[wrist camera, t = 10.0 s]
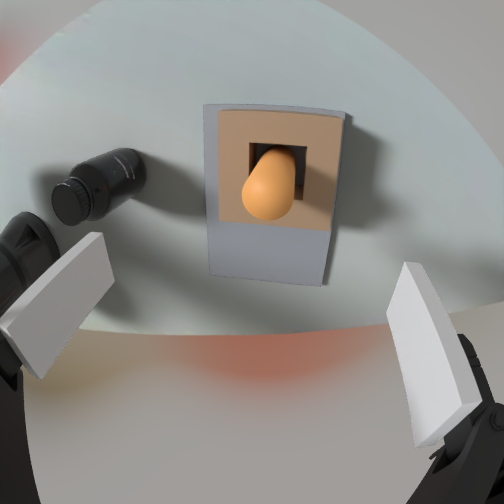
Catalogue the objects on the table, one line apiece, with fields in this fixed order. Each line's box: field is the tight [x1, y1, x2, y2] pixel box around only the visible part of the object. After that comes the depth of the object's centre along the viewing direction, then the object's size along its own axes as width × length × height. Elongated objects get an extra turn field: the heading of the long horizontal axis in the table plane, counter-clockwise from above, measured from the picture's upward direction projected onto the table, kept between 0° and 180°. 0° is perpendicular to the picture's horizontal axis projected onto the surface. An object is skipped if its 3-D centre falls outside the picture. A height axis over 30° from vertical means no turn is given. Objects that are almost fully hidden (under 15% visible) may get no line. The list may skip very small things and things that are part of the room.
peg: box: [242, 144, 296, 221], centre depth 25 cm, size 4×4×12 cm
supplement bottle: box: [51, 148, 146, 226], centre depth 29 cm, size 7×7×12 cm
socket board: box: [203, 104, 345, 287], centre depth 31 cm, size 15×22×6 cm
